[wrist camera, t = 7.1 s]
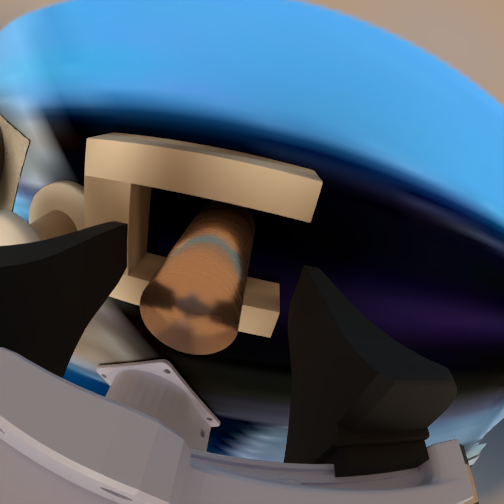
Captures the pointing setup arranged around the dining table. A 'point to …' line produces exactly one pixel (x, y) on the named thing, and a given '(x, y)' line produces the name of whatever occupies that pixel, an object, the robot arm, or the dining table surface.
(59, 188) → the bobbin
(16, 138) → the condiment
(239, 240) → the copper peg
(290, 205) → the notched board
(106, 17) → the dining table surface
